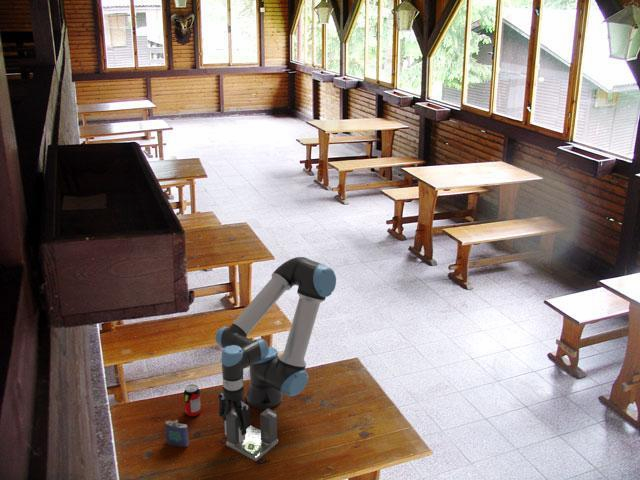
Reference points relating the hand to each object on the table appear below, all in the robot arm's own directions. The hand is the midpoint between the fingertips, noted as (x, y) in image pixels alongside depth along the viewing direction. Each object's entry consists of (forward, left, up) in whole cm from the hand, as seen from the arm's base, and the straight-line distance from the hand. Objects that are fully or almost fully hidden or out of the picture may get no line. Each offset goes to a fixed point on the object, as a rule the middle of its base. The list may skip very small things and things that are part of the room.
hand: (235, 436), depth 243 cm
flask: (-18, -13, -4) cm, 23 cm away
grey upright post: (0, 0, -2) cm, 2 cm away
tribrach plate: (+5, +4, -3) cm, 7 cm away
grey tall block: (+10, +8, -2) cm, 13 cm away
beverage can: (-27, +4, -4) cm, 28 cm away
